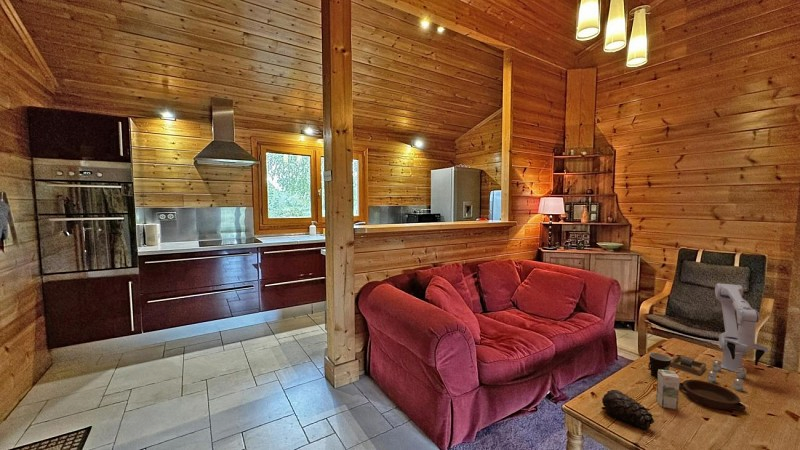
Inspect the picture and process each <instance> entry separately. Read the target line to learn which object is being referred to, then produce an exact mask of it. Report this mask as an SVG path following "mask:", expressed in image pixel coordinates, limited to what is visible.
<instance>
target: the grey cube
mask: <svg viewBox="0 0 800 450" xmlns="http://www.w3.org/2000/svg"><path fill="white" fill-rule="evenodd" d="M681 357H682V358H681V362H680V363H679V364H680V365H683V366H687V367H690V368H693V369H695V366H694V361H695V358H692V357H689V356H685V355H682V356H681Z"/></svg>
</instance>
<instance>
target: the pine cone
mask: <svg viewBox="0 0 800 450" xmlns="http://www.w3.org/2000/svg"><path fill="white" fill-rule="evenodd" d="M601 401H602V405H603V407H605V410H604V413H605V414H606V415H607V416H609V417H610V418H612V419H615V420H616V421H618V422H620V423H623V424H625V425H627V426H630V427H632V428H634V429H637V430H639V431H641V432H646V433H651V431H649V428H651V425H652V424H654V423H655V419H654V418H653V416H654V415H653V414H652V413H651V412H649V411H648V409H647V408H646V407H645V406H644V405H643V404H640V402H638V401H636V400H635V399H633V398H632V397H630V396H629V395H627V394H626V393H623V392H621V391H620V390H618V389H611V390H609V391H607V393H606V394H605V393H604V395H603V397H602V400H601Z"/></svg>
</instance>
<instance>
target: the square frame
mask: <svg viewBox="0 0 800 450" xmlns="http://www.w3.org/2000/svg"><path fill="white" fill-rule="evenodd" d="M682 357H683V356H679V355H675V356H674V357H673V358H671V362H670V367H671V368H673V369H676V370H680V371H683V372H686V373H689V374H692V375H695V376H701V375H702V373H703V372H704V371H705V370H706V366H707V364H706V363H704V362H700V361H697V360H694V367H697V368H698V369H696V368H694V369H693V368H690V367H687V366H683V365H680V363H681V358H682ZM678 362H680V363H678ZM670 367H669V368H670Z"/></svg>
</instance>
